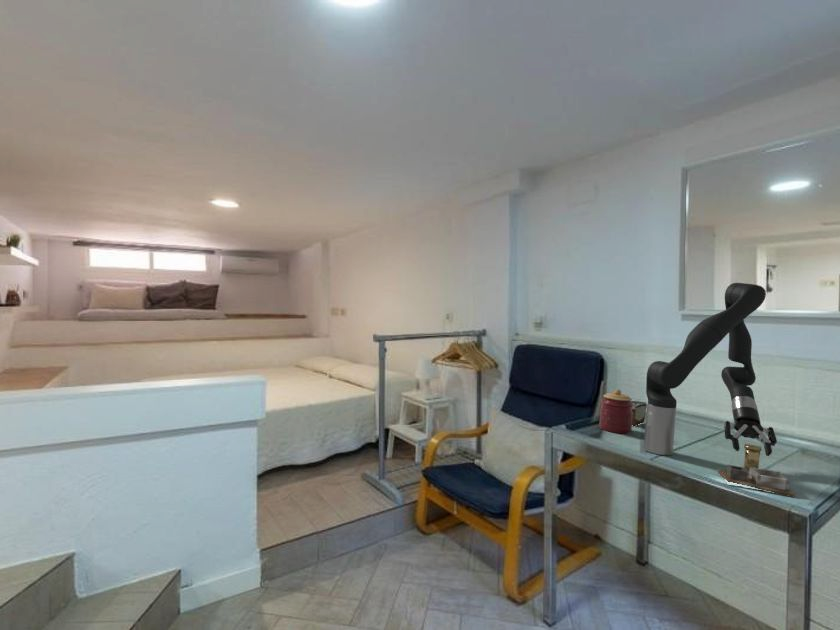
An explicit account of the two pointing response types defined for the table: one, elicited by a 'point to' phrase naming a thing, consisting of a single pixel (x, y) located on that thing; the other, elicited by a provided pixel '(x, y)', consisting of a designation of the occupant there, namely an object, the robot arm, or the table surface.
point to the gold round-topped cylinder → (751, 456)
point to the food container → (638, 412)
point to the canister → (616, 413)
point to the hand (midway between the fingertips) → (752, 452)
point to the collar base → (758, 479)
